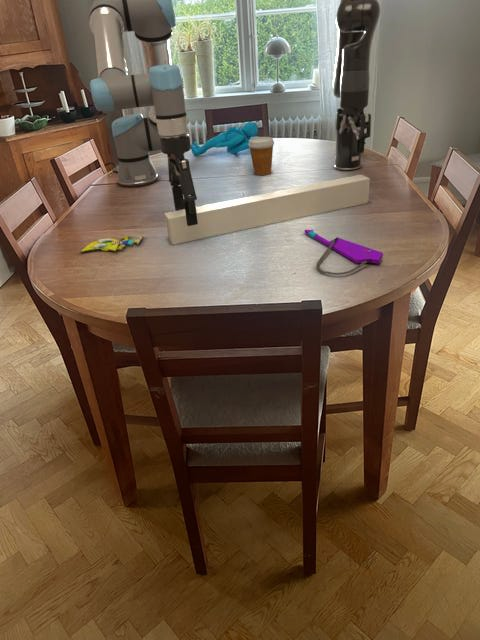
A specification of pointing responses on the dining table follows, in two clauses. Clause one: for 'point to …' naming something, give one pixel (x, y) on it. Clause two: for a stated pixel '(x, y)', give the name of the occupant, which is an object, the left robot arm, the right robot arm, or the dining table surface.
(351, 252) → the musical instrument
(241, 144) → the toy
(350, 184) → the post
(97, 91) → the left robot arm
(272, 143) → the disposable coffee cup
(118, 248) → the toy
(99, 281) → the dining table surface
